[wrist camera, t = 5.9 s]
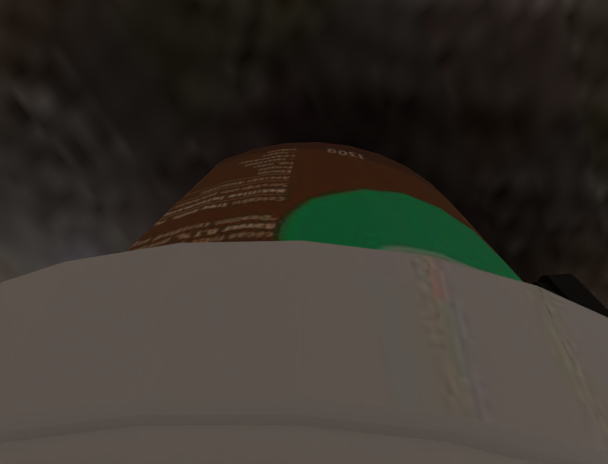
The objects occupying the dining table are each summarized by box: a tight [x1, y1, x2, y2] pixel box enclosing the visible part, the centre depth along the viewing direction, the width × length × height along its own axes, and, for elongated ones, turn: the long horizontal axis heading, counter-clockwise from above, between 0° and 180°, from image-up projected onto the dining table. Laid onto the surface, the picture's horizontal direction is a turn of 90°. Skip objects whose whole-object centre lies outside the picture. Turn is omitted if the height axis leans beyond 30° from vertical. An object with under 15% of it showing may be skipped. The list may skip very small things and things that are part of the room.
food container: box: [0, 142, 608, 464], centre depth 9 cm, size 12×6×10 cm, turn 24°
